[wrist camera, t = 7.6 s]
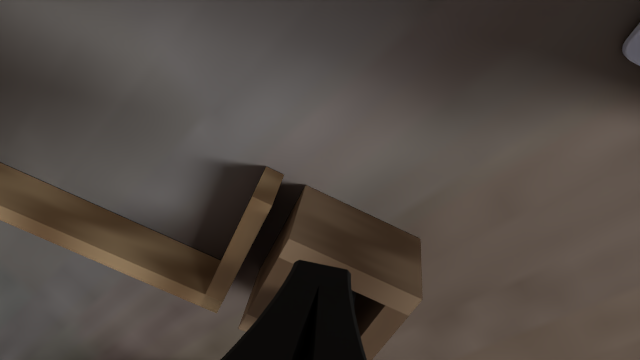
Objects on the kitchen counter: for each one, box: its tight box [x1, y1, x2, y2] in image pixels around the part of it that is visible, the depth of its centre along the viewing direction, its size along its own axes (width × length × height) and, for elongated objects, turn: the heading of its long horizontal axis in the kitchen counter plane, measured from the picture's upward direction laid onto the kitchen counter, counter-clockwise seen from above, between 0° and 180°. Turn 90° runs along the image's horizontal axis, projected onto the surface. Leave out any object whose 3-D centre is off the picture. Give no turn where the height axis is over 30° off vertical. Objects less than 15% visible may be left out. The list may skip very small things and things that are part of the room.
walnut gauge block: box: [238, 185, 422, 360], centre depth 24 cm, size 6×6×4 cm
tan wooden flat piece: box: [0, 163, 284, 313], centre depth 23 cm, size 17×11×2 cm, turn 65°
